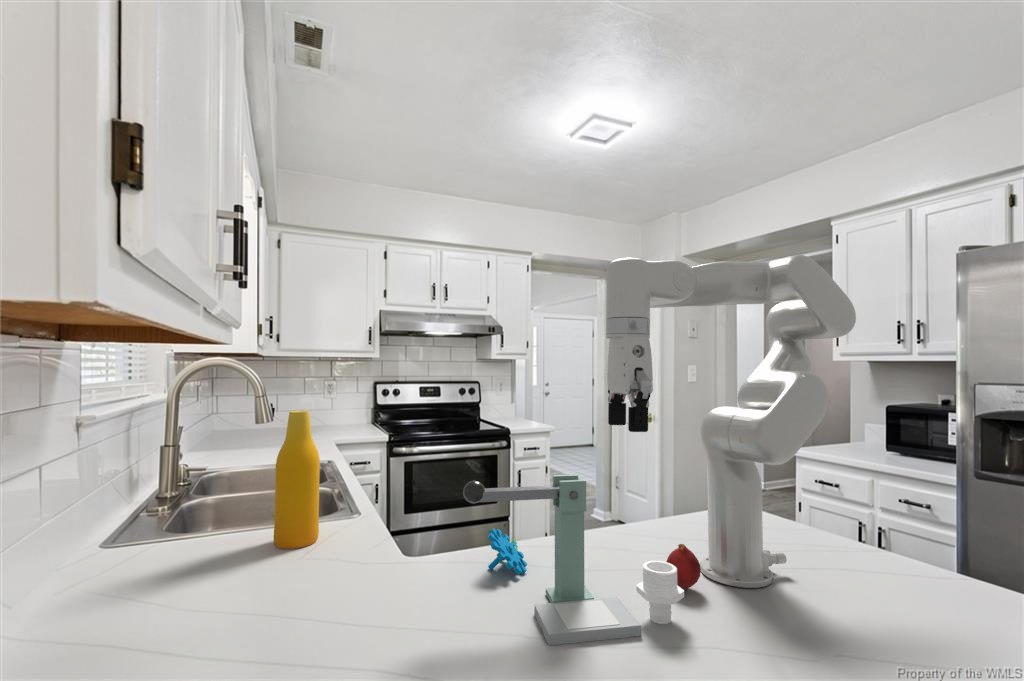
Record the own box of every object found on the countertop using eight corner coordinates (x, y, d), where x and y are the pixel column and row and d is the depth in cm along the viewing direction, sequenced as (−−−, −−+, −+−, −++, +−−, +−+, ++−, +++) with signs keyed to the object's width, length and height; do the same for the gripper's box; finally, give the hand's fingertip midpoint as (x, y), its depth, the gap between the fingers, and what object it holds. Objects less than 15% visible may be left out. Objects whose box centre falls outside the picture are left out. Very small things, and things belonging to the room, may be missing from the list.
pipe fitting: (637, 606, 82) (636, 557, 83) (683, 612, 80) (682, 561, 81) (636, 626, 76) (635, 572, 76) (685, 633, 74) (684, 577, 75)
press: (602, 588, 89) (601, 473, 90) (641, 635, 73) (640, 495, 74) (525, 594, 86) (525, 475, 87) (548, 645, 71) (548, 500, 72)
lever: (577, 495, 88) (576, 474, 88) (583, 500, 84) (583, 479, 84) (462, 500, 84) (462, 478, 84) (464, 506, 81) (464, 483, 81)
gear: (521, 575, 90) (486, 530, 94) (498, 597, 91) (464, 551, 94) (536, 561, 101) (504, 521, 104) (515, 581, 101) (484, 540, 105)
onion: (676, 579, 93) (675, 535, 93) (706, 589, 89) (705, 543, 89) (660, 589, 89) (659, 543, 89) (691, 600, 85) (690, 551, 85)
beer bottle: (326, 541, 112) (329, 411, 114) (285, 553, 105) (288, 414, 107) (306, 532, 118) (308, 408, 120) (266, 542, 111) (269, 411, 113)
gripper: (670, 326, 80) (670, 434, 79) (629, 333, 97) (628, 422, 96) (625, 325, 79) (624, 434, 78) (592, 332, 96) (591, 422, 95)
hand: (627, 428), depth 87 cm, fingers open, 9 cm apart
